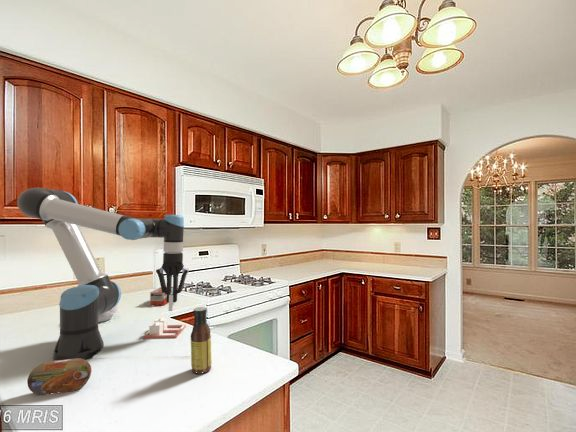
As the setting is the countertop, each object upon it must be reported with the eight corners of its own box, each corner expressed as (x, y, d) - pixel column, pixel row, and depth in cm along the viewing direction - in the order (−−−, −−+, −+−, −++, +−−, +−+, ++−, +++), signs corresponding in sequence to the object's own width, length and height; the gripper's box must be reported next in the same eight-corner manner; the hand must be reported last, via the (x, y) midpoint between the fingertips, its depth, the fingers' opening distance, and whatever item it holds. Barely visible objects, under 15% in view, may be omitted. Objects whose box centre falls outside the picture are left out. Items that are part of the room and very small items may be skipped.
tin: (26, 397, 86) (26, 366, 86) (32, 391, 89) (32, 361, 89) (89, 389, 90) (89, 359, 90) (92, 383, 93) (92, 355, 93)
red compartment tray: (176, 341, 125) (176, 335, 125) (143, 341, 124) (143, 335, 124) (185, 329, 138) (185, 324, 138) (155, 330, 137) (155, 324, 137)
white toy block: (163, 331, 132) (163, 319, 132) (154, 331, 132) (154, 319, 132) (167, 328, 136) (167, 316, 136) (157, 328, 136) (157, 316, 136)
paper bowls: (76, 326, 142) (76, 309, 143) (86, 316, 157) (86, 300, 157) (114, 323, 147) (114, 306, 147) (120, 313, 162) (120, 298, 162)
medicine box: (161, 299, 192) (161, 286, 192) (174, 299, 191) (174, 286, 192) (149, 306, 177) (149, 291, 177) (163, 306, 176) (163, 292, 176)
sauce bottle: (203, 364, 105) (203, 304, 105) (215, 369, 101) (215, 307, 101) (186, 371, 100) (186, 308, 100) (198, 377, 96) (198, 312, 96)
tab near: (159, 336, 126) (159, 324, 126) (149, 336, 126) (149, 324, 126) (162, 333, 130) (162, 320, 130) (153, 333, 130) (153, 321, 130)
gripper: (191, 251, 133) (190, 307, 133) (160, 251, 132) (158, 307, 132) (186, 253, 125) (185, 313, 125) (153, 252, 125) (151, 312, 124)
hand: (171, 310), depth 128 cm, fingers closed
